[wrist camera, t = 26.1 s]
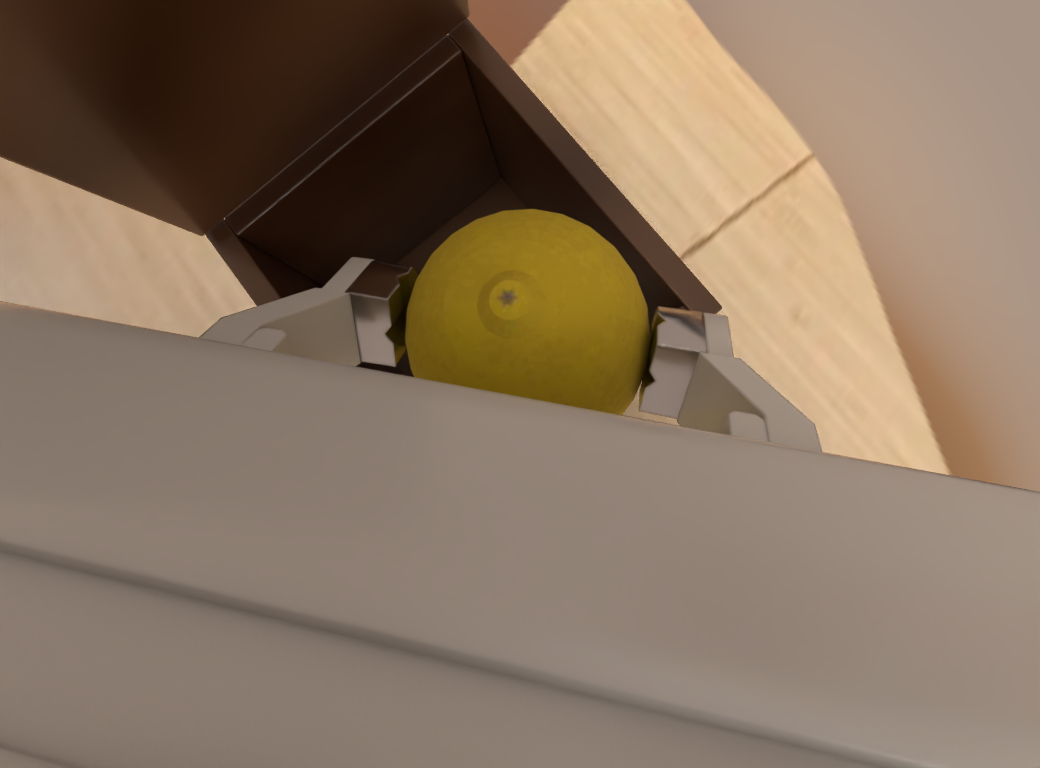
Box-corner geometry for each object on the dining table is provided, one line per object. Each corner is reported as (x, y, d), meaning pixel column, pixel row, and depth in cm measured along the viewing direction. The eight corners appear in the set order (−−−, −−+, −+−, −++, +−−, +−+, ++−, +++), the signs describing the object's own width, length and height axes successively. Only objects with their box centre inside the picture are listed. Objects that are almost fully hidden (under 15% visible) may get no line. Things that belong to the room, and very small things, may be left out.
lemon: (622, 264, 17) (658, 118, 9) (642, 445, 17) (698, 452, 9) (446, 285, 18) (338, 162, 10) (459, 461, 17) (356, 480, 9)
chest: (671, 356, 29) (723, 307, 18) (484, 504, 29) (427, 542, 18) (507, 163, 31) (466, 16, 20) (334, 304, 31) (203, 233, 20)
